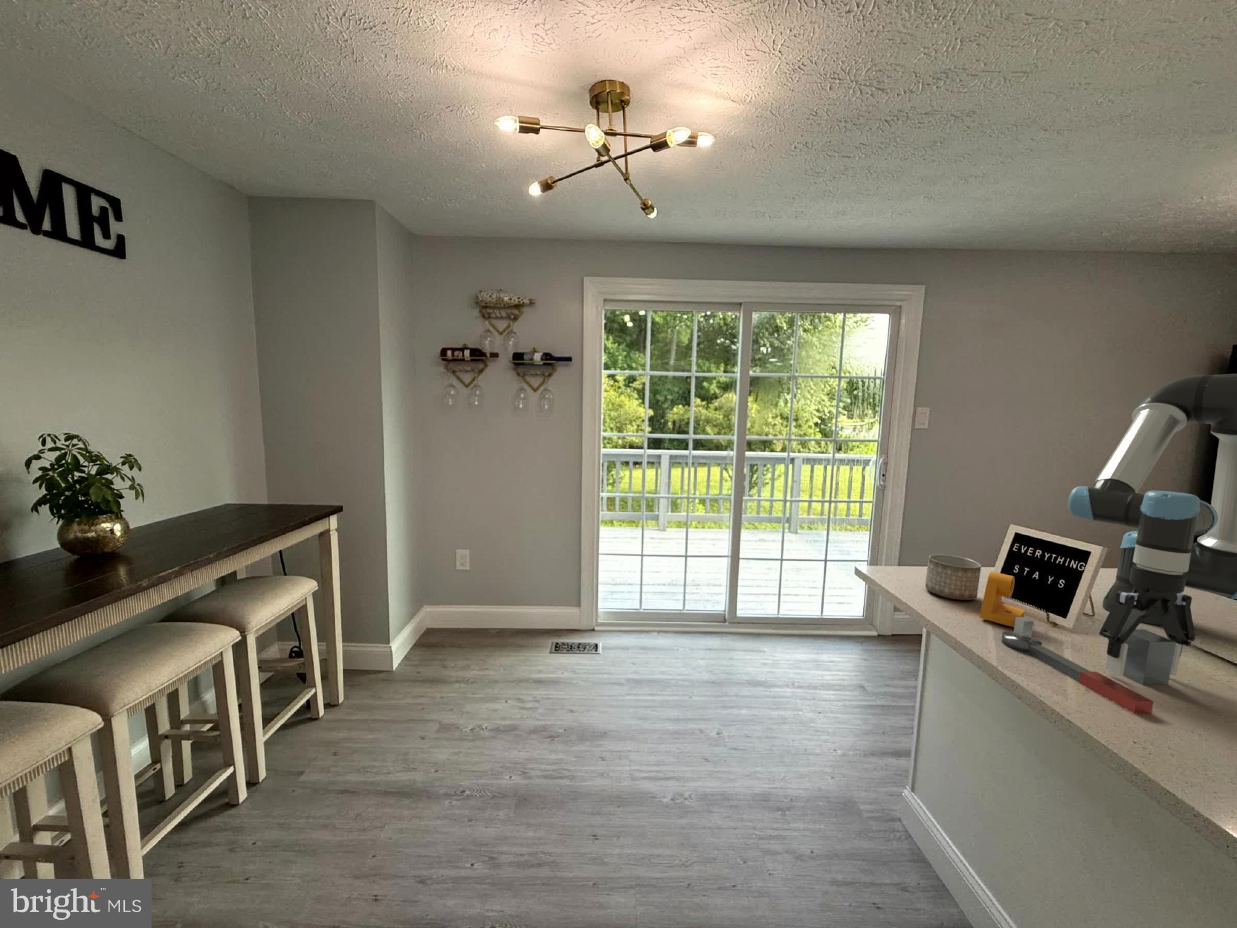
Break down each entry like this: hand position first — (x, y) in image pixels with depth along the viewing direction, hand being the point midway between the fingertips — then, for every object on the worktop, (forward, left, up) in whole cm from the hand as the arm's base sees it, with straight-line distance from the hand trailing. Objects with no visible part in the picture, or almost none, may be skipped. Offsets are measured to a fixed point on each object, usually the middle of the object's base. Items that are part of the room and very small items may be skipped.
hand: (1140, 671), depth 102 cm
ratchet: (+14, -2, -1) cm, 14 cm away
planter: (+7, -44, -1) cm, 45 cm away
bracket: (+6, -27, -1) cm, 28 cm away
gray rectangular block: (0, 0, -1) cm, 1 cm away
